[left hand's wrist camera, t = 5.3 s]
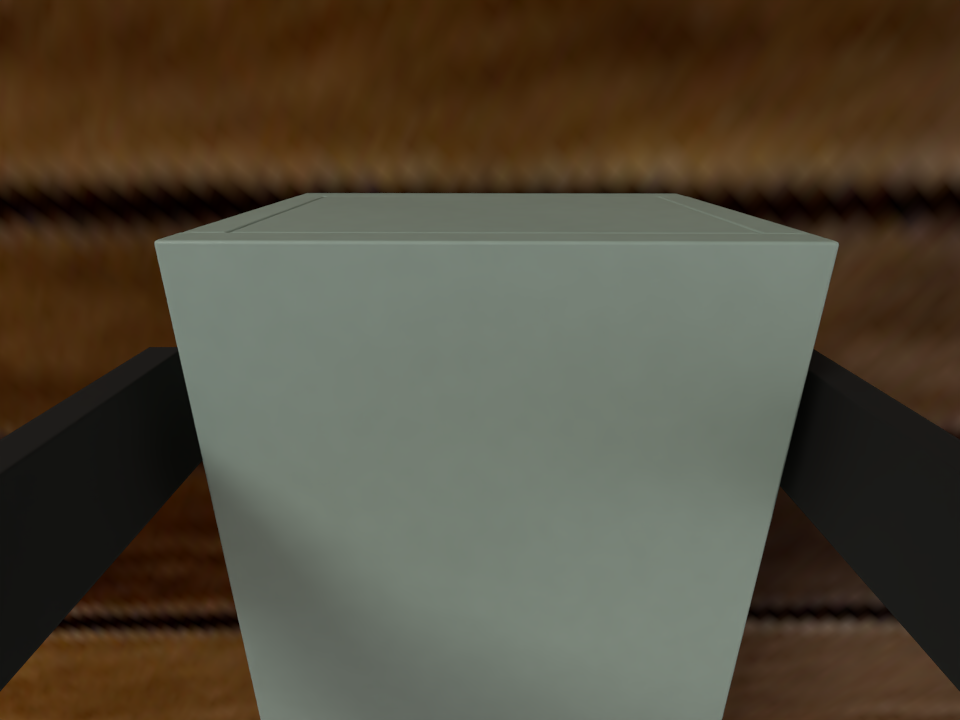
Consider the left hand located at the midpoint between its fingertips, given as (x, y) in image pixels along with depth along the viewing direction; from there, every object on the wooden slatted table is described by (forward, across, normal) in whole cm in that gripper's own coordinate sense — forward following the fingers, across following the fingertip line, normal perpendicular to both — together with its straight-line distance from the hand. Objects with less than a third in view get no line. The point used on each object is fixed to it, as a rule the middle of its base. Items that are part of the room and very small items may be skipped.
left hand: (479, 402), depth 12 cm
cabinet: (+6, 0, -5) cm, 7 cm away
